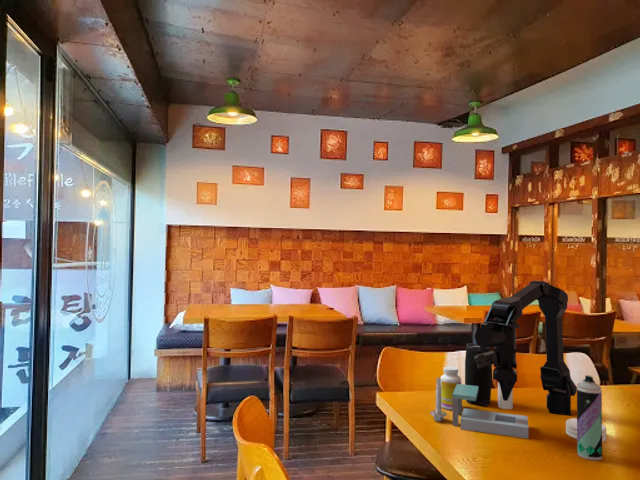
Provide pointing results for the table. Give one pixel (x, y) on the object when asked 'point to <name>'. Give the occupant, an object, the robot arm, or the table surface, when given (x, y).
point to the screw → (438, 403)
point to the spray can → (589, 419)
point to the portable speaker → (478, 374)
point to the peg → (503, 403)
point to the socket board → (495, 423)
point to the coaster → (572, 429)
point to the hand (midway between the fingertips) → (505, 398)
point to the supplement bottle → (449, 386)
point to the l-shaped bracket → (462, 393)
